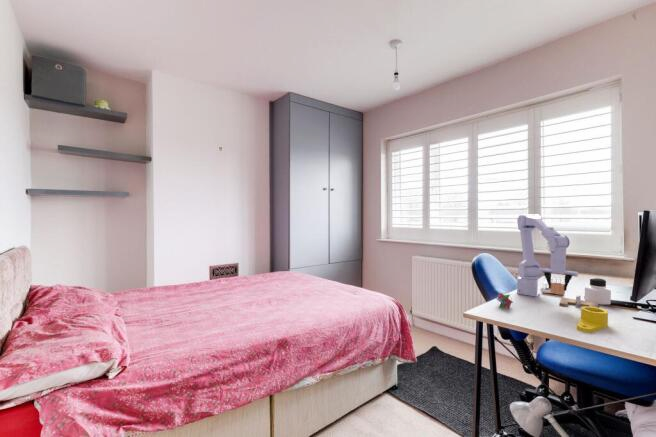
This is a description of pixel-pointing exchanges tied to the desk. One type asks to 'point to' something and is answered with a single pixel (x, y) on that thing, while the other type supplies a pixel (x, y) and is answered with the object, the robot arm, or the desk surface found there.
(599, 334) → the desk surface
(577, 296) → the post
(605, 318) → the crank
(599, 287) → the medicine bottle
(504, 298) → the geometric puzzle
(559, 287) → the hollow octagonal tube
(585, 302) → the wooden u-shaped block
